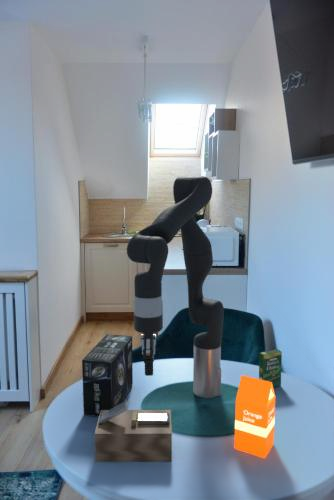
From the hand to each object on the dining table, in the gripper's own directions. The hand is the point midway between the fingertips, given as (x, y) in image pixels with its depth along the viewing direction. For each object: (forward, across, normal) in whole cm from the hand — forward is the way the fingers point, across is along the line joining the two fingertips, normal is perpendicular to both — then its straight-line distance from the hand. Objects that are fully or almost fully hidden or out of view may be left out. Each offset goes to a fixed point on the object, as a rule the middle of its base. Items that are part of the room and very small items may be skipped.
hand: (149, 374), depth 119 cm
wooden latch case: (+22, 0, +4) cm, 22 cm away
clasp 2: (+13, 0, -1) cm, 14 cm away
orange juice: (+22, 0, -29) cm, 36 cm away
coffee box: (+22, +36, -42) cm, 60 cm away
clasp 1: (+11, 0, +10) cm, 15 cm away
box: (+22, +27, +14) cm, 38 cm away
